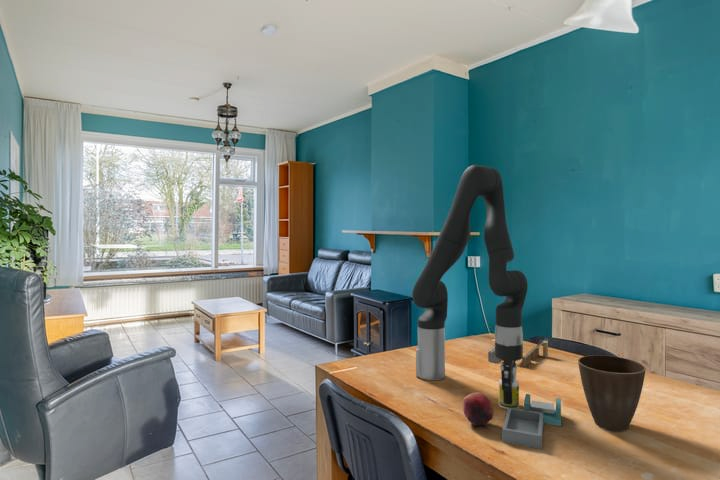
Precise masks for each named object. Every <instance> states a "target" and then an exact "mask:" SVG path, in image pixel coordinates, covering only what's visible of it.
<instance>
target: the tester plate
mask: <svg viewBox="0 0 720 480" xmlns="http://www.w3.org/2000/svg"><path fill="white" fill-rule="evenodd" d="M530 405H531V410H532V411H539V412H545V413H552V414H554V409H555V403H551V402H546V401H538V400H531V402H530Z"/></svg>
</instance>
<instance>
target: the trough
mask: <svg viewBox="0 0 720 480" xmlns="http://www.w3.org/2000/svg"><path fill="white" fill-rule="evenodd" d="M501 430H502V434H501V435H502V436H501V438H502V443H506V444H507V443H509V444H512V445H518V446H523V447H528V448H534V449H539V450H542V448H543V446H542V445H543V444H542V443H543V433H544V432H543V431H544V423H543V413H541V412H535V411H528V410H524V409H520V408H518V409H515V408H509V407H508V409H507V410H506V414H505V419H504V422H503V426H502V429H501Z"/></svg>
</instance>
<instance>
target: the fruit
mask: <svg viewBox="0 0 720 480" xmlns="http://www.w3.org/2000/svg"><path fill="white" fill-rule="evenodd" d="M462 410H463V414H464V417H465V418H466V419H467V420H468V422H469V423H471V424H473V425H474V426H476V427H478V426H479V427H480V426H483V425H486V424H487V423H489V422H491V421H492V419H493V418H494V416H495V408H494V405H493V403H492V401H491V400H490V398H489V397H488V396H487V395H486V394H485V393H483V392H479V391H478V392H477V391H476V392H472V393H469V394H468V395H466V396H465V397H464V398H463V401H462Z"/></svg>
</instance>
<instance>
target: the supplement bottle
mask: <svg viewBox="0 0 720 480" xmlns="http://www.w3.org/2000/svg"><path fill="white" fill-rule="evenodd" d="M511 379H512V378H511ZM519 383H520V382H519V381H518V380H517V371H516V372H515V381H514V383H513V384H512V388H513V390H512V404H511V405H509V404H504V391H503V390H502V380H501V378H500V379H499V380H498V405H499V407H500V408H502V409H504V410H508V407H509V408H515V409H519V407H520V384H519ZM505 386H509V384H506V383H505Z"/></svg>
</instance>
